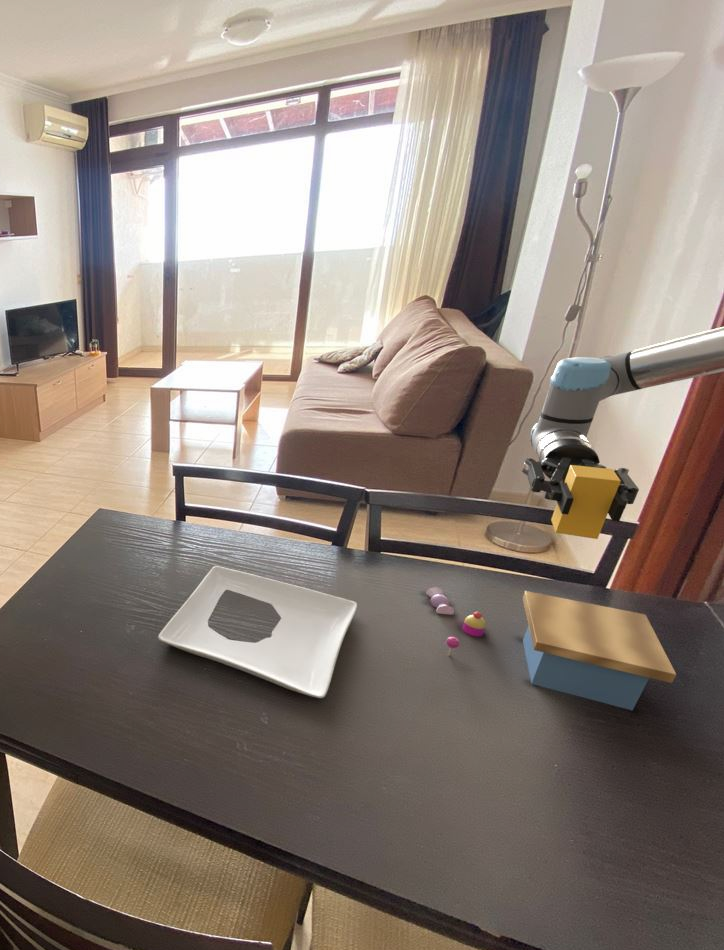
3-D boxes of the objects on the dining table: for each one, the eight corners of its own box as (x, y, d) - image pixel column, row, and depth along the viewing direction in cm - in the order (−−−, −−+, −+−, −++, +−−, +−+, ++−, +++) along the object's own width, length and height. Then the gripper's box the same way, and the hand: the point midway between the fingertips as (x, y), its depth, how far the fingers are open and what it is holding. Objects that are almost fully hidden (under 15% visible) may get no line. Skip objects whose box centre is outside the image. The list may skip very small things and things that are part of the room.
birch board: (641, 622, 81) (645, 614, 80) (672, 683, 70) (676, 674, 70) (522, 598, 88) (525, 590, 87) (533, 650, 77) (536, 642, 77)
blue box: (611, 666, 84) (630, 625, 80) (630, 715, 76) (652, 672, 72) (521, 644, 89) (535, 605, 86) (529, 688, 81) (545, 647, 78)
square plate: (355, 617, 99) (359, 599, 97) (321, 717, 79) (324, 697, 78) (213, 577, 114) (214, 561, 112) (155, 652, 95) (155, 635, 93)
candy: (410, 597, 103) (416, 570, 100) (459, 601, 101) (467, 574, 98) (443, 662, 87) (452, 632, 85) (501, 669, 85) (512, 638, 82)
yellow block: (590, 525, 88) (612, 469, 84) (597, 539, 84) (620, 480, 80) (550, 519, 90) (570, 464, 86) (555, 532, 87) (576, 476, 83)
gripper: (627, 483, 95) (668, 543, 78) (498, 469, 104) (509, 520, 87) (643, 443, 92) (689, 497, 75) (509, 432, 101) (523, 478, 84)
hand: (592, 509), depth 81 cm, fingers closed on yellow block, 5 cm apart
